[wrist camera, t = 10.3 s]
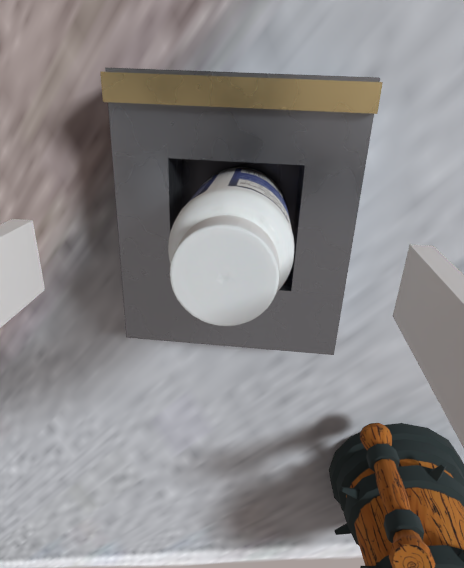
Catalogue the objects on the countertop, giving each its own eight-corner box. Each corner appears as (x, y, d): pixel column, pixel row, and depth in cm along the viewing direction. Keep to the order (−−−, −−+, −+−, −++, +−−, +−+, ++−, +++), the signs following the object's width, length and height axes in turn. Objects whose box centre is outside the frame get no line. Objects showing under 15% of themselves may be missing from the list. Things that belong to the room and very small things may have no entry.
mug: (479, 502, 31) (584, 705, 21) (350, 529, 34) (384, 722, 23) (436, 371, 27) (540, 543, 16) (291, 413, 29) (300, 585, 19)
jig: (130, 73, 21) (100, 66, 18) (363, 82, 20) (383, 76, 17) (144, 309, 27) (123, 342, 23) (326, 324, 26) (335, 360, 22)
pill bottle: (210, 266, 25) (177, 355, 16) (182, 180, 23) (127, 227, 14) (297, 245, 24) (314, 328, 15) (275, 153, 22) (280, 186, 13)
